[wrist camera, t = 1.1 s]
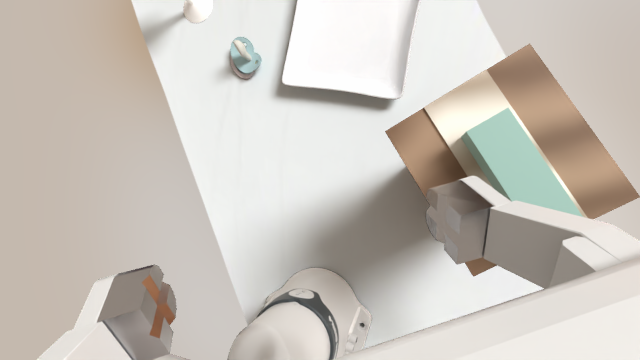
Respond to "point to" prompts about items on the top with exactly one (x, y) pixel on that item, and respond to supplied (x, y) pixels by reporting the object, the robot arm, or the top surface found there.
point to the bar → (515, 164)
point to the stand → (536, 120)
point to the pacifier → (243, 58)
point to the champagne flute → (197, 10)
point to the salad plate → (351, 46)
